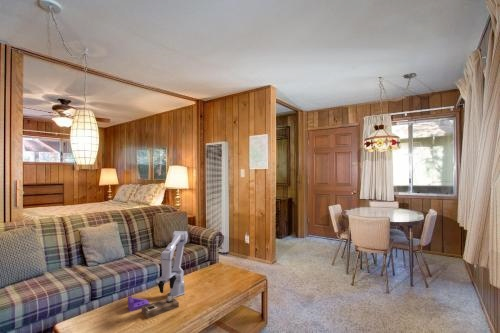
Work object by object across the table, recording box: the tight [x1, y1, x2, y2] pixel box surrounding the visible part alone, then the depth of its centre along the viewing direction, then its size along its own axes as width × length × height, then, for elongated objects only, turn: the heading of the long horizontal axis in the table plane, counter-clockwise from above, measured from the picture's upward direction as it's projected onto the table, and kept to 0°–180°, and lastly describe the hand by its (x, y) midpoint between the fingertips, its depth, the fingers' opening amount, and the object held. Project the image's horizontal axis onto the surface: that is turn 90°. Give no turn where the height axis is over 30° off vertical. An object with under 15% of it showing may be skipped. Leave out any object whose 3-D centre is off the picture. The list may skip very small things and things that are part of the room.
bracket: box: [127, 295, 151, 313], centre depth 168 cm, size 12×7×7 cm, turn 126°
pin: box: [166, 292, 172, 303], centre depth 169 cm, size 3×3×8 cm
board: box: [141, 297, 180, 320], centre depth 165 cm, size 20×10×3 cm, turn 132°
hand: (166, 290), depth 169 cm, fingers open, 7 cm apart
